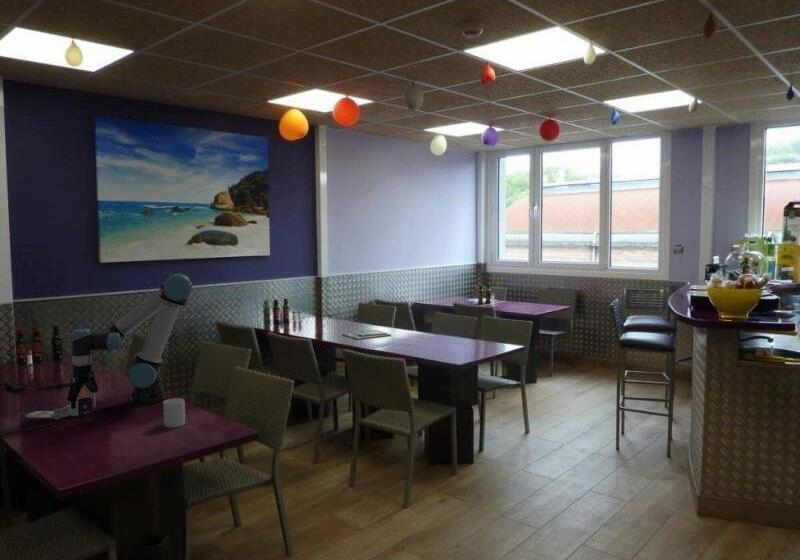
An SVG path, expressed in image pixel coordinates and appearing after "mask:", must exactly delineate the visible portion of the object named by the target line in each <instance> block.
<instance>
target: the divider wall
mask: <svg viewBox="0 0 800 560" xmlns="http://www.w3.org/2000/svg"><path fill="white" fill-rule="evenodd" d="M81 398H82V397H78V398H77V399H81ZM53 411H54V418H53V420H57V421H58V420H61V418H63V417H62V416H64V415H66V414H68V413H70V412H71V403H70V404H68V405H66V406H64V407H62V408H57V407H56V408H54V409H53Z"/></svg>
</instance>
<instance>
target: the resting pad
mask: <svg viewBox="0 0 800 560" xmlns="http://www.w3.org/2000/svg"><path fill="white" fill-rule="evenodd" d="M70 416H71V412H70V413H68V414H66V415H64V416H62V418H66V417H70ZM25 418H27V419H54V410H39V411H38V410H37V411H33V412H30V413H27V414H25Z"/></svg>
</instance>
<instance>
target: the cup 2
mask: <svg viewBox="0 0 800 560" xmlns="http://www.w3.org/2000/svg"><path fill="white" fill-rule="evenodd" d="M185 405H186V404H185V399H184V398H180V397H179V398H178V397H177V398H169V399H165V400H163V401H162V406H163V425H164V427H166V428H168V429H169V428H170V429H171V428H172V429H173V428H179V427H180V428H181V427H182V426H184V425H185V423H186V409H185V408H186V407H185Z"/></svg>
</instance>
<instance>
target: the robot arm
mask: <svg viewBox="0 0 800 560" xmlns="http://www.w3.org/2000/svg"><path fill="white" fill-rule="evenodd" d="M192 291H193V281H192V278H191V277H190V276H189V275H188V274H187V273H184V272H175V273H173V274H171V275H170V276H168V277H167V278H166V280H165V281H164V283H162V284H161V285H160V286H159V288H158V290H157V291H156V292H154V293H153V294H152V295H150V296H148V298H146V299H145V300H143V302H141V303H140V304H139V305H137V306H136V307H135V308H133V309H132V310H131V311H129V312H128V313H126V314H125V315H124V316H123V317H121V318H120V319H119V320H118V321H116V322H115V323H113V324H112V325H111V326H109V327H108V328H106V329H105V330H103V332H100V333H99V332H98V333H93V332H91V329H89V328H80V329H79V328H77V329H74V330H72V332H71V340H70V341H71V360H72V359H73V364H74V365H73V364H72V375H73V374H75V375H76V378H73V377H71V378H70V386H69V390H68V393H67V398H66V401H67V402H70V404H71V415H70V416H71V417H78V401H76V400H77V398H79V394H80V393H81V390H82V388H83V387H84V386H86V388H87V390H88V391H89V392H88V398H93V408H96V405H97V404H96V403H97V401H96V393H98V391H99V386H98V383H97V380H96V377H95V372H94V371H93V364H92V358H93V357H92V351H108V350H109V351H110V350H111V351H113V350H119V349H120V348H121V345H122V339H123V338H125V337H126V336H127V335H129V334H130V333H131V332H133V331H134V330H135V329H136V328H137V327H139V326H140V325H142V324H143V323H144V322H146V321H147V320H148V319H149V318H151V317H152V316H153V315H155V314H156V315H155V317H154V319H153V322H152V324H151V327H150V329H149V332H148V335H147V338H146V339H145V342H144V345H143V346H142V349H141V351H140V352H136V354H134V355H133V356H132V362H133V363H132V365H131V368H129V369H128V373H127V374H128V375H127V376H128V381H129V382H130V384H131V385H132V386H133V389H132V392H131V396H130V403H131V404H133V405H139V406H142V405H143V406H144V405H153V404H158V403H161V402H164V401H165V400H166V393H165V391H164V388H163V386H162V383H161V382H162V381H161V366H162V364H163V362H164V361H163V359H162V355H163V353H164V351H165V347H166V346H167V345H166V344H167V342H168V341H169V337H170V334H171V332H172V330H173V327H174V325H175V322H176V320H177V317H178V315H179V312H180V310H181V309H182V308H184V307H186V304H187V302H188V299H189V296H190V294H191V293H192Z"/></svg>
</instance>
